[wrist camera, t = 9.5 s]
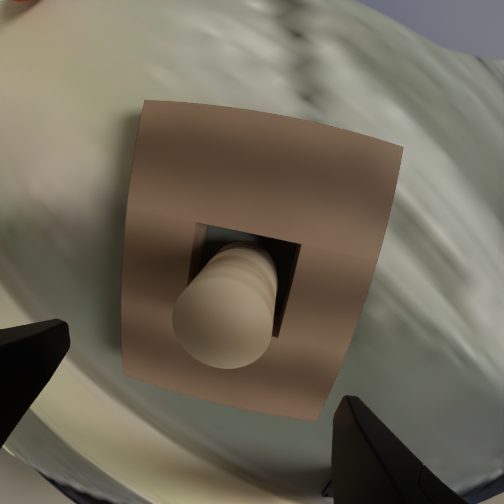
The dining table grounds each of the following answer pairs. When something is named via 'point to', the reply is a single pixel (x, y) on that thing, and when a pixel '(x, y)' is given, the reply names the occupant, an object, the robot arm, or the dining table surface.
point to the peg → (229, 307)
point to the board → (260, 223)
